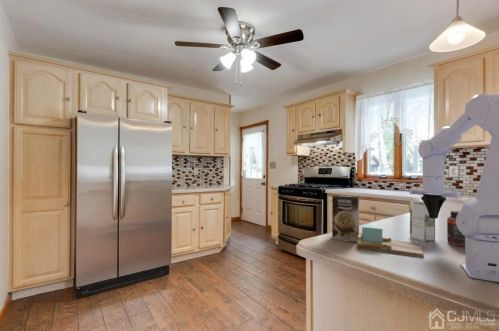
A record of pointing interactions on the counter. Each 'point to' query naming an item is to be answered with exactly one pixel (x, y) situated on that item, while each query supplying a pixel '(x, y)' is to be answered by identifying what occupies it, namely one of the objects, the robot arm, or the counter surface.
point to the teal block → (372, 233)
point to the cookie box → (345, 218)
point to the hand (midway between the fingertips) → (433, 218)
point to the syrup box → (421, 222)
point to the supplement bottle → (454, 231)
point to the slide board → (391, 246)
